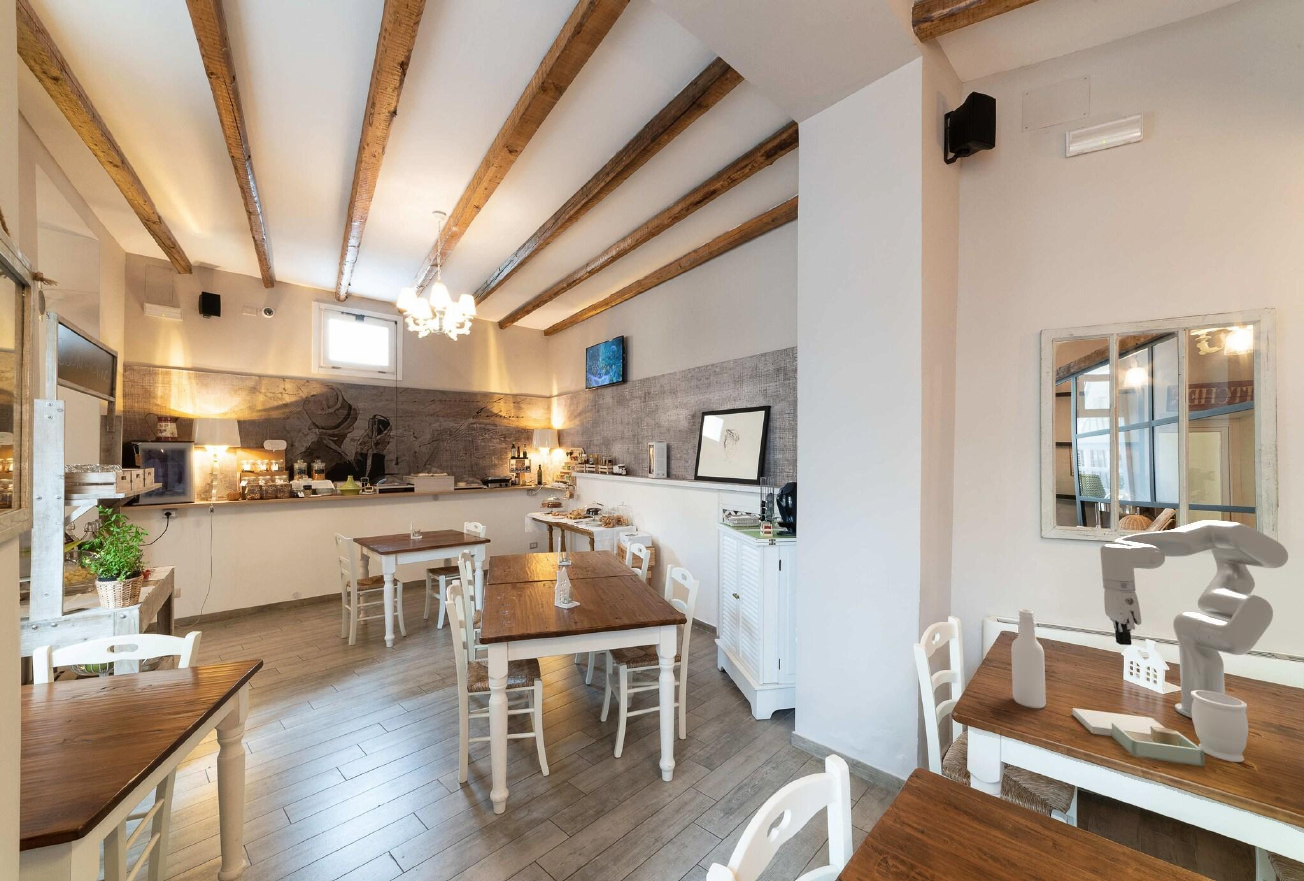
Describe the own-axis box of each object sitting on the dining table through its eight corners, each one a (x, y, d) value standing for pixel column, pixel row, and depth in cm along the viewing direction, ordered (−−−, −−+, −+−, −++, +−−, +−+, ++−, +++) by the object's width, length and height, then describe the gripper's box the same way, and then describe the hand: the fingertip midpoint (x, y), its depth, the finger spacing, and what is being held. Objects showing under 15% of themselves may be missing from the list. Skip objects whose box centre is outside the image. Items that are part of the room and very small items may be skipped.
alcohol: (1047, 702, 169) (1044, 610, 170) (1044, 712, 162) (1041, 616, 164) (1015, 694, 175) (1012, 605, 176) (1010, 703, 168) (1008, 611, 170)
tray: (1177, 745, 143) (1177, 731, 143) (1204, 766, 133) (1204, 750, 133) (1112, 736, 147) (1111, 722, 148) (1133, 756, 138) (1132, 741, 138)
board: (1152, 724, 155) (1151, 717, 155) (1178, 745, 143) (1178, 737, 143) (1072, 714, 161) (1072, 708, 161) (1092, 733, 149) (1092, 726, 149)
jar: (1258, 770, 132) (1254, 710, 132) (1201, 757, 137) (1198, 700, 138) (1239, 750, 141) (1236, 695, 141) (1187, 739, 146) (1184, 686, 147)
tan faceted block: (1171, 729, 142) (1177, 734, 139) (1171, 745, 142) (1178, 751, 139) (1150, 726, 144) (1156, 731, 141) (1151, 742, 144) (1157, 747, 141)
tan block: (1155, 742, 138) (1156, 754, 138) (1145, 734, 142) (1145, 745, 142) (1134, 739, 139) (1135, 751, 139) (1125, 731, 144) (1125, 742, 143)
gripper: (1149, 591, 152) (1154, 653, 151) (1118, 579, 166) (1123, 636, 165) (1119, 590, 154) (1124, 652, 153) (1091, 579, 168) (1095, 635, 167)
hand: (1123, 643), depth 159 cm, fingers closed
